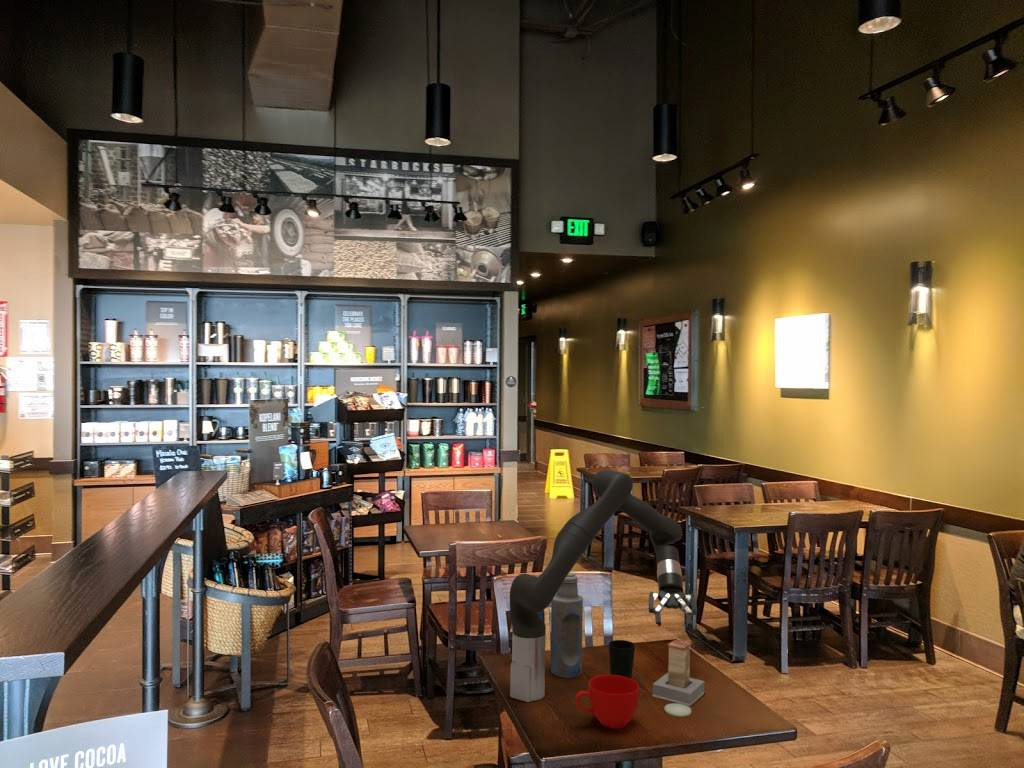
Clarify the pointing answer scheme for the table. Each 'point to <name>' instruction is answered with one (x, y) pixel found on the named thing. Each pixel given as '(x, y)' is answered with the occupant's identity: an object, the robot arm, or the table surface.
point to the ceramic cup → (612, 699)
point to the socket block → (678, 691)
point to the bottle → (566, 629)
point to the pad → (677, 710)
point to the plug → (679, 663)
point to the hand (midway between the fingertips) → (674, 625)
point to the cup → (621, 657)
